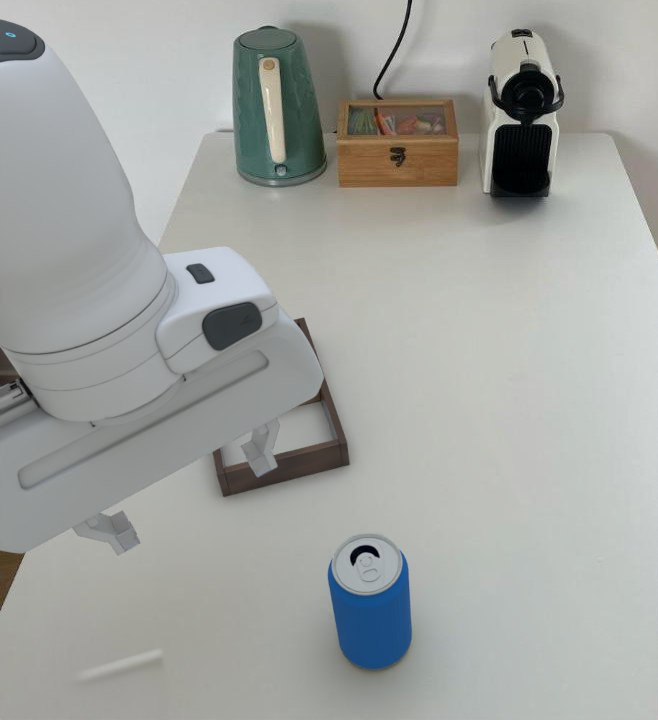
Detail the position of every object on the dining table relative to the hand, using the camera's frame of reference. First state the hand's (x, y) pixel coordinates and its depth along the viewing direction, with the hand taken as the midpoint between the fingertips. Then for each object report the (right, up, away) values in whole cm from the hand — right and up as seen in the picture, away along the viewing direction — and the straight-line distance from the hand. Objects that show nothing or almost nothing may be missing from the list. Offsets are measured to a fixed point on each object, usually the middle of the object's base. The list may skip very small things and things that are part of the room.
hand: (197, 503), depth 51 cm
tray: (-2, +3, +42) cm, 42 cm away
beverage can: (+11, -16, +21) cm, 28 cm away
